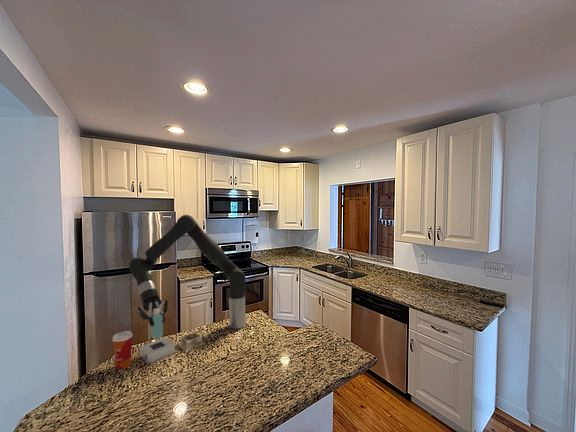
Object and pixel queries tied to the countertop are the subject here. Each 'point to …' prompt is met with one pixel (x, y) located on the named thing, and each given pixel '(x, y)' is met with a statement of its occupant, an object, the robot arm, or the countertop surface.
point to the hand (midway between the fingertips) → (158, 323)
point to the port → (156, 350)
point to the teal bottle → (157, 324)
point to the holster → (190, 341)
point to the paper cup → (122, 349)
